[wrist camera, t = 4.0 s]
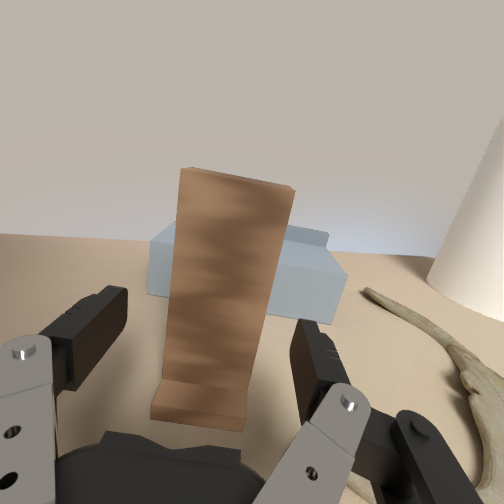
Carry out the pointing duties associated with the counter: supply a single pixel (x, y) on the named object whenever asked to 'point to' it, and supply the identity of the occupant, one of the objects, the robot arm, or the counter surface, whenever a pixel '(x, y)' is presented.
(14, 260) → the counter surface
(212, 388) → the brown wooden block
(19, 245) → the counter surface
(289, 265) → the display riser
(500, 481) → the decorative wall piece
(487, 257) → the cylinder
